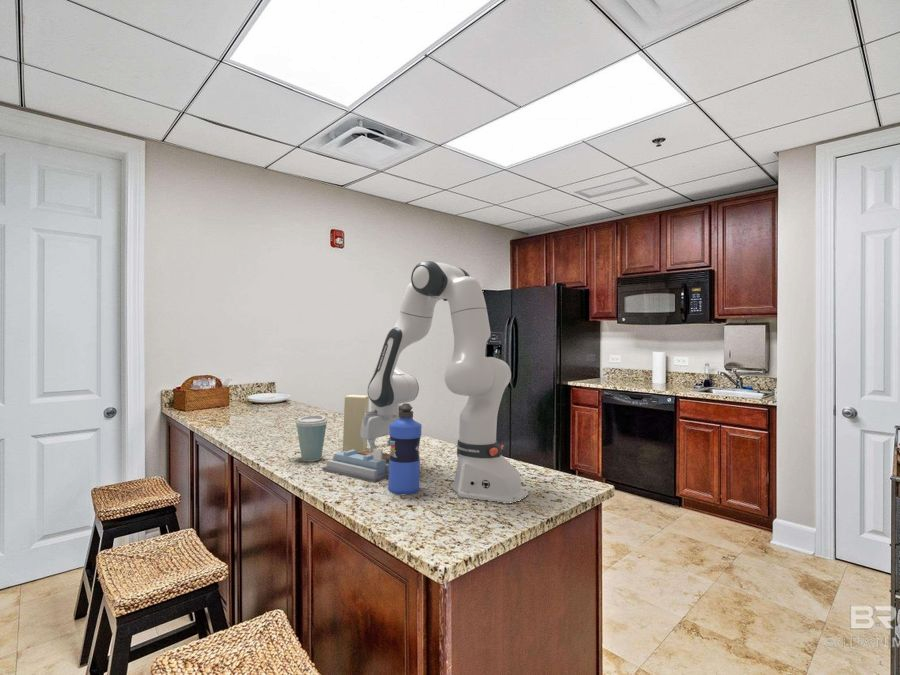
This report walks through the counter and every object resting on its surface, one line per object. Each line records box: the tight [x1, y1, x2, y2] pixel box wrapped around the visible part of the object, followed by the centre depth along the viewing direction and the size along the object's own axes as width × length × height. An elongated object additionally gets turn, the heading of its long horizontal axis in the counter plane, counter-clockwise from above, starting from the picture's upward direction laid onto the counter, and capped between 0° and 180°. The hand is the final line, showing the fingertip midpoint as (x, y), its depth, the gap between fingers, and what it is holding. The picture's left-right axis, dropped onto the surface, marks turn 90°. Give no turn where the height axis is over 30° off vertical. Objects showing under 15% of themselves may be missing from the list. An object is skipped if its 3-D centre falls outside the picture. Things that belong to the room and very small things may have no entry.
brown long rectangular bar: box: [356, 449, 390, 464], centre depth 166 cm, size 20×5×3 cm, turn 59°
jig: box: [322, 459, 389, 483], centre depth 153 cm, size 22×11×3 cm, turn 59°
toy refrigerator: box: [342, 394, 370, 452], centre depth 182 cm, size 8×7×21 cm
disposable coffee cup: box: [295, 414, 328, 463], centre depth 167 cm, size 11×11×15 cm
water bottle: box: [387, 402, 423, 495], centre depth 137 cm, size 9×9×25 cm
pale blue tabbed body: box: [332, 448, 386, 475], centre depth 154 cm, size 20×4×8 cm, turn 59°
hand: (382, 447), depth 166 cm, fingers open, 8 cm apart
